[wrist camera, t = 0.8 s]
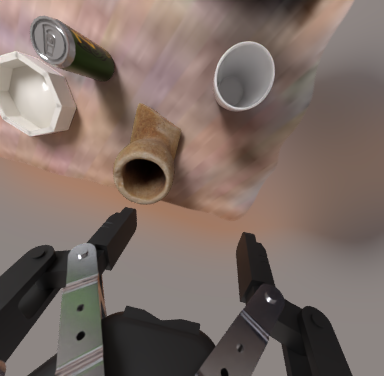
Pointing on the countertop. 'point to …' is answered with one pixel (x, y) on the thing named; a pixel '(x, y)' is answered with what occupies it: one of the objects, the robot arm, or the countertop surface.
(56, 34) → the beer can
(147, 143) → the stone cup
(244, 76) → the drinking glass
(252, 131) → the countertop surface
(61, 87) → the cream bowl
